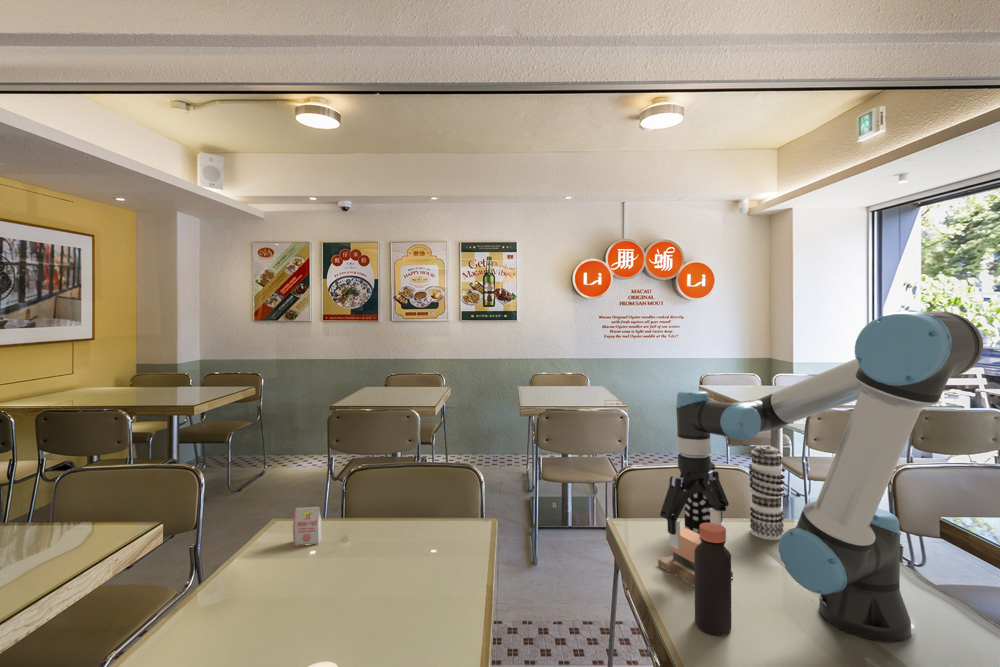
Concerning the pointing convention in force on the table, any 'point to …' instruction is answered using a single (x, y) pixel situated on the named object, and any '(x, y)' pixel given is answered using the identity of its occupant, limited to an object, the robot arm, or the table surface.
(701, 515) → the white-spotted black cylinder
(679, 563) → the pin board
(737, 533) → the table surface
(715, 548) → the bottle
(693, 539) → the block
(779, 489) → the decorative candle
